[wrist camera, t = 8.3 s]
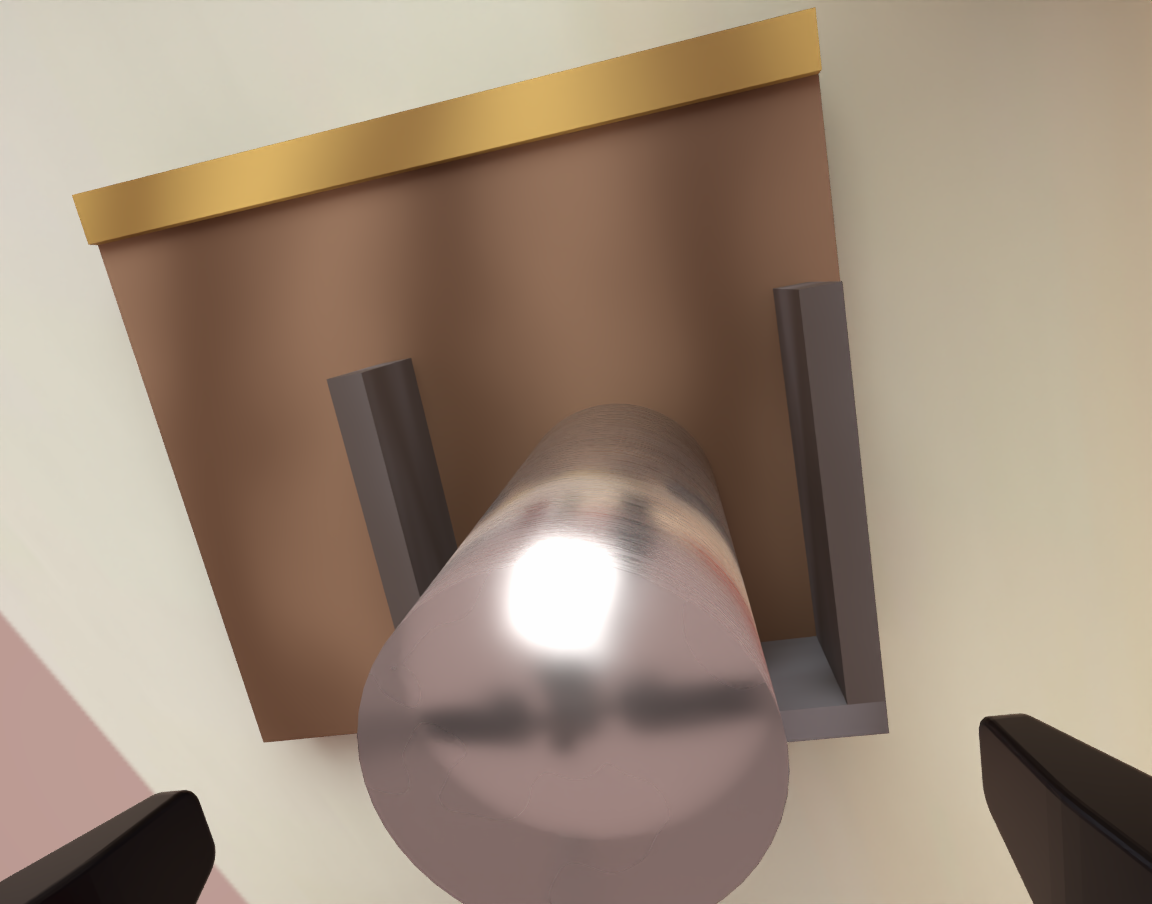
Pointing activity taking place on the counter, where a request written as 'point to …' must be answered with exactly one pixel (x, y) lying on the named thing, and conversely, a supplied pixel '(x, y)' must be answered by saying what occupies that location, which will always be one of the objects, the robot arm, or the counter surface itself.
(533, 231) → the dock
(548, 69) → the counter surface
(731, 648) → the canister
